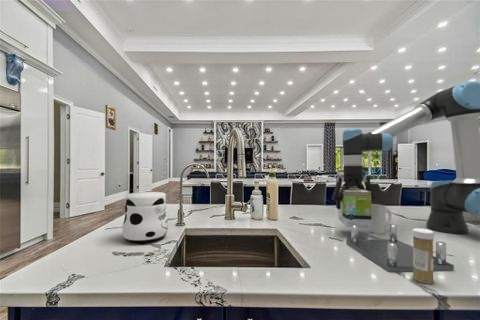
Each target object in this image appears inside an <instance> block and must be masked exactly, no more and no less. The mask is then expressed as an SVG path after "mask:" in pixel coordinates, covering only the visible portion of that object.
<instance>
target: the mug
mask: <svg viewBox="0 0 480 320" xmlns="http://www.w3.org/2000/svg"><path fill="white" fill-rule="evenodd" d="M371 211H372V227H371V228H368V229H369V230H368V231H369V232H370V233H373V234H377V235H378V234H379V235H383V234H385V233H386V226H389V227H390V223H391V220H392V212H391V210H390V207H386V205H385V204H384V205H383V204H377V203H375V204H374V203H371ZM386 212H387V215H386ZM386 216H387V220H386Z"/></svg>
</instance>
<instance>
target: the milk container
mask: <svg viewBox="0 0 480 320" xmlns="http://www.w3.org/2000/svg"><path fill="white" fill-rule="evenodd" d="M124 198H125V200H124V203H125V205H124V214H125V215H124V219H123V223H122V227H121V229H122V230H121V231H122V237H123V238H124V239H125V240H126V241H129V242H131V243H132V242H135V243H144V242H145V243H146V242H153V241H156V240H159V239H161V238H163V237H164V236H166V234H167V233H168V229H169V223H168V222H169V221H168V219H167V218H168V217H167V212H166V211H167V203H166V202H167V194H166V193H165V192H161V191H160V192H159V191H142V192H140V191H139V192H132V193H131V192H130V193H128V194H126V195H125V197H124Z"/></svg>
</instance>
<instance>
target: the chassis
mask: <svg viewBox="0 0 480 320" xmlns="http://www.w3.org/2000/svg"><path fill="white" fill-rule="evenodd" d="M350 235H351V236H350V239H346V240H345V241H346V245H347V246H349V247H351V248H352V249H353V250H354V251H357V253H358V254H360V255H362V256H364V257H366V258H367V259H368V260H370V261H372V263H374V264H376V265H377V266H379V267H381V268H382V269H384V270H385V271H386V272H388V273H403V272H404V273H405V272H409V273H410V272H412V273H413V245H410V244H407V243H405V242H403V241H400V240H399V239H398V225H396V224H393V223H391V224H389V238H387V239H386V238H385V239H383V238H382V239H381V238H380V239H359V228H358V225H351V227H350ZM442 271H443V272H444V271H448V272H449V271H455V265H454V264H452V263H450V262H447V243H446V242H444V241H435V256H434V255H433V272H442Z"/></svg>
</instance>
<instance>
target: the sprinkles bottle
mask: <svg viewBox="0 0 480 320" xmlns="http://www.w3.org/2000/svg"><path fill="white" fill-rule="evenodd" d="M434 234H435V233H434V230H432V229H428V228H427V229H426V228H421V227H419V228H416V227H415V228H413V229H412V238H413V240H412V243H413V245H412V247H413V272H412V273H413V275H412V278H413V279H414V280H415V281H417V282H419V283H421V284H423V283H424V284H433V283H434V282H435V280H434V271H433V256H434V239H435V237H434V236H435V235H434Z"/></svg>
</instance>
